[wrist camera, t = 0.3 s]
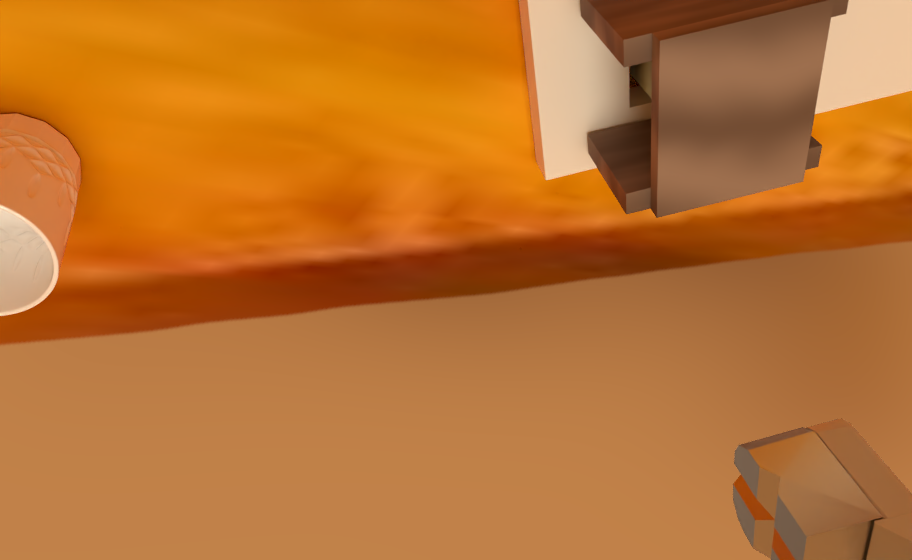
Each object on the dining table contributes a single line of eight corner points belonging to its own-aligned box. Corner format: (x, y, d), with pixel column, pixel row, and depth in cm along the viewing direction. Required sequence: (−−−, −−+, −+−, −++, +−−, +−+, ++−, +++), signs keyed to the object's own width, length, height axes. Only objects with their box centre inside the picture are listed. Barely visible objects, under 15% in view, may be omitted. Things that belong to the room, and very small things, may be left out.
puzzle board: (514, -39, 44) (524, -25, 42) (1029, -161, 45) (1062, -153, 43) (536, 161, 53) (545, 180, 51) (963, 56, 54) (988, 71, 52)
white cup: (119, 163, 48) (90, 259, 40) (40, 234, 50) (-1, 338, 42) (1, 76, 43) (-57, 166, 35) (-80, 158, 45) (-151, 260, 38)
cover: (579, -9, 43) (630, 47, 37) (779, -57, 43) (863, -9, 37) (588, 153, 50) (632, 223, 44) (759, 111, 51) (827, 175, 44)
